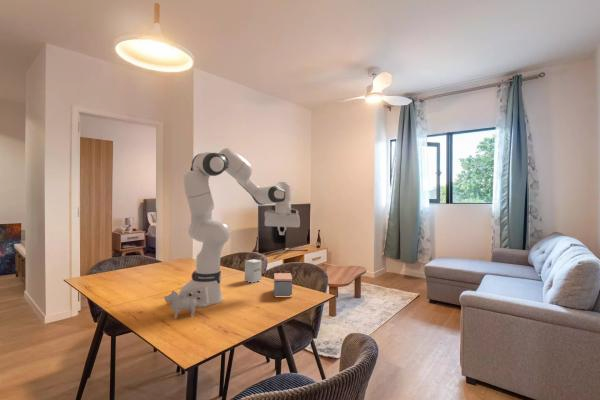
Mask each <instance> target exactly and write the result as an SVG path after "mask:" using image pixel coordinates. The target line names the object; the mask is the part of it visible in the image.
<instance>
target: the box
mask: <svg viewBox="0 0 600 400" xmlns="http://www.w3.org/2000/svg"><path fill="white" fill-rule="evenodd" d="M290 295H292V296H293V280H292V281H274V280H273V297H274V296H290Z"/></svg>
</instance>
